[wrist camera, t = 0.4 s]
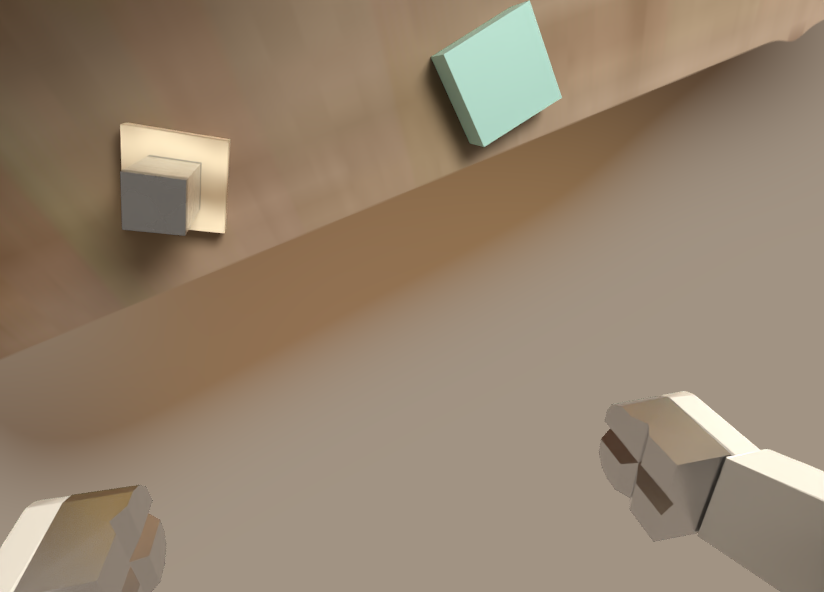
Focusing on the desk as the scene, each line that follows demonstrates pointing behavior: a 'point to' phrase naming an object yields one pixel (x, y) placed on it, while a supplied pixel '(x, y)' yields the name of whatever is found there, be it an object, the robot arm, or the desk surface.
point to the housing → (160, 195)
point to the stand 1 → (191, 148)
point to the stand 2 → (498, 75)
